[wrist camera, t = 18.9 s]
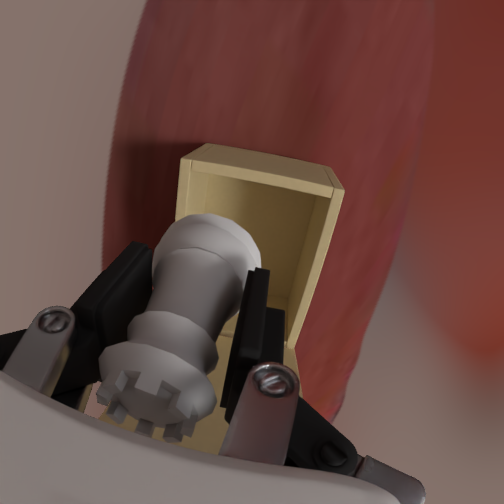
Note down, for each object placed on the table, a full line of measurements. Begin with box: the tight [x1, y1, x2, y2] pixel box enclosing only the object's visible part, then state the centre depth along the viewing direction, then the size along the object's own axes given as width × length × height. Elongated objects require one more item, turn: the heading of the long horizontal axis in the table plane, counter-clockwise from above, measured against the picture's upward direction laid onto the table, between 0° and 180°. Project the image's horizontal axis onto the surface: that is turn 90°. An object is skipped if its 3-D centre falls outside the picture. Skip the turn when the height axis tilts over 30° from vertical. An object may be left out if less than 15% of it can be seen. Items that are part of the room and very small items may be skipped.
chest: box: [175, 143, 345, 349], centre depth 26 cm, size 15×11×7 cm
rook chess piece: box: [96, 213, 261, 443], centre depth 10 cm, size 4×4×8 cm
